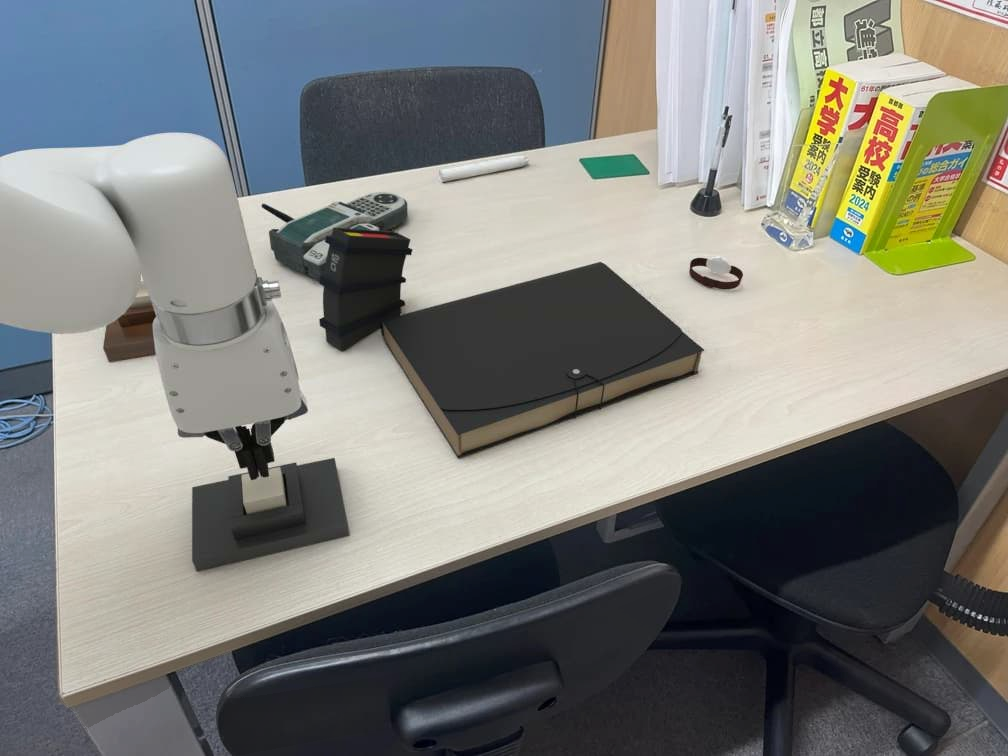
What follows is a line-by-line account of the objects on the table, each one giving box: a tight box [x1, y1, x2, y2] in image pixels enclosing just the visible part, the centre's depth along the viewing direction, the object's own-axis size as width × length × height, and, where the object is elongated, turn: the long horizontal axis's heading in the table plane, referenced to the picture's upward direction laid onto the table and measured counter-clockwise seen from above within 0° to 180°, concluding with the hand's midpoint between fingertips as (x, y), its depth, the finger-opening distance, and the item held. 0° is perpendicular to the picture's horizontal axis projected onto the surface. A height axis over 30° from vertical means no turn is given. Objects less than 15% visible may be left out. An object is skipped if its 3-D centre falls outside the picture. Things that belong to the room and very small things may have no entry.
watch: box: [688, 255, 744, 291], centre depth 104 cm, size 8×5×4 cm, turn 63°
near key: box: [242, 467, 287, 515], centre depth 68 cm, size 4×4×2 cm
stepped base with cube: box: [191, 457, 350, 572], centre depth 69 cm, size 14×9×4 cm, turn 108°
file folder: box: [379, 261, 706, 459], centre depth 89 cm, size 33×4×24 cm
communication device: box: [261, 191, 408, 281], centre depth 107 cm, size 12×24×9 cm, turn 146°
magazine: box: [318, 227, 413, 351], centre depth 90 cm, size 4×13×15 cm, turn 141°
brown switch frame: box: [102, 305, 156, 363], centre depth 92 cm, size 14×10×4 cm
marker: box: [438, 155, 531, 183], centre depth 129 cm, size 18×2×2 cm, turn 117°
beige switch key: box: [130, 280, 152, 309], centre depth 90 cm, size 4×4×2 cm
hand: (259, 467), depth 65 cm, fingers closed
